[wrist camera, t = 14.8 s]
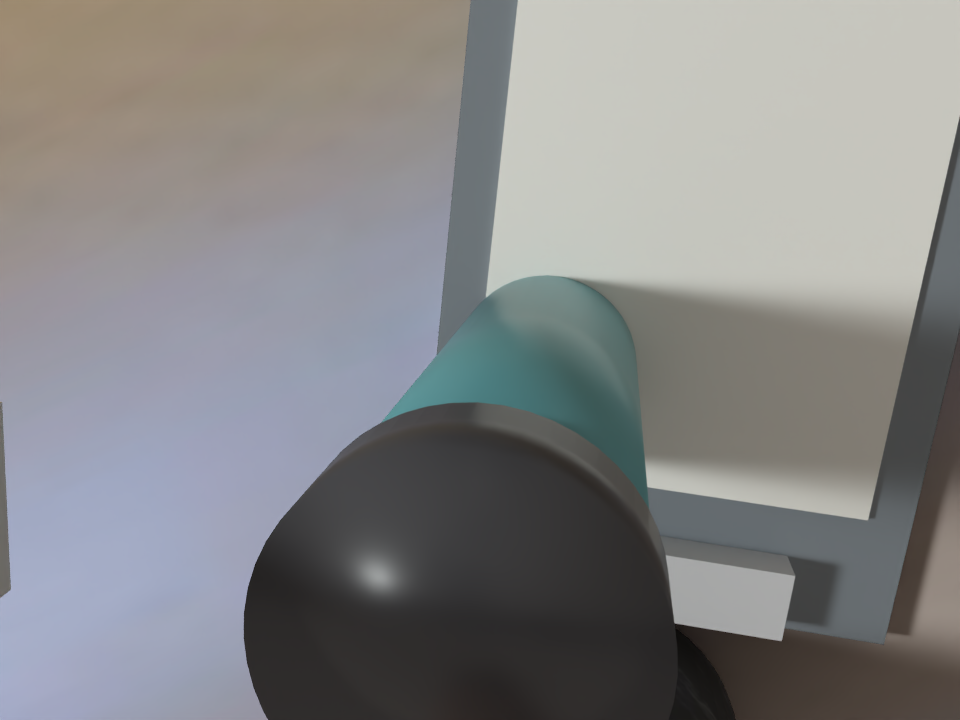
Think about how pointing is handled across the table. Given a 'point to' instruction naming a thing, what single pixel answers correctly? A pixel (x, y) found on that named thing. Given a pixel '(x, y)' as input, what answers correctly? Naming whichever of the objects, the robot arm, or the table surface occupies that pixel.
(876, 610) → the clipboard
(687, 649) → the travel mug
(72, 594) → the table surface
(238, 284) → the table surface
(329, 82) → the table surface
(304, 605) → the marker
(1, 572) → the robot arm
